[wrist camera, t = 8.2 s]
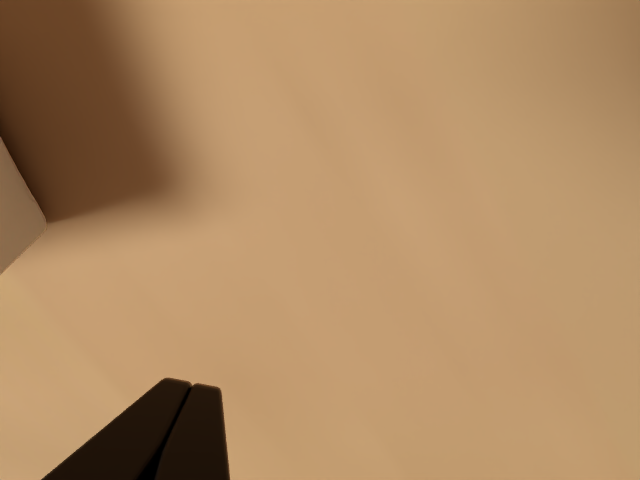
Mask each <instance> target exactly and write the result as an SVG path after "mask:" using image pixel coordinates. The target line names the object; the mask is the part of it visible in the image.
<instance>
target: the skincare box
mask: <svg viewBox="0 0 640 480" xmlns="http://www.w3.org/2000/svg"><path fill="white" fill-rule="evenodd" d="M46 229H47V223H46V219H45V216H44V215H43V213H42V211H41V209H40V207H39V205H38V204H37V202H36V200H35V199H34V197H33V196H32V194H31V192H30V190H29V188H28V187H27V185H26V183H25V181H24V180H23V178H22V176H21V174H20V172H19V171H18V169H17V167H16V165H15V163H14V161H13V160H12V158H11V156H10V154H9V152H8V150H7V148H6V146H5V144H4V143H3V141H2V139H1V136H0V275H1V274H2V273H3V272H4V271H5V270H6V269H7V268H8V267H9V266H10V265H11V264H12V263H13V262H14V261H15V260H16V259H17V258H18V257H19V256H20V255H21V254H22V253H23V252H24V251H25V250H26V249H27V248H28V247H30V246H31V245H32V244H33V243H34V242H35V241H36V240H37V239H38V238H39V237H40V236H41V235H42V234H43V233H44V232H45V231H46Z"/></svg>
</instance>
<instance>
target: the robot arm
mask: <svg viewBox="0 0 640 480" xmlns="http://www.w3.org/2000/svg"><path fill="white" fill-rule="evenodd" d="M41 480H230V473H229V463H228V453H227V443H226V433H225V423H224V413H223V403H222V393H221V390H220V388H219V387H215V386H210V385H204V384H199V383H196V384H194V385H193V386H192V384H191V383H190V382H188V381H184V380H178V379H173V378H164V379H162V380H161V381H160V382H159V383H157V384H156V385H155V386H154V387H152V388H151V389H150V390H149V391H148V392H146V393H145V394H144V395H143V396H142V397H140V398H139V399H138V400H137V401H136V402H134V403H133V404H132V405H131V406H130V407H128V408H127V409H126V410H125V411H123V412H122V413H121V414H120V415H119V416H117V417H116V418H115V419H114V420H113V421H111V422H110V423H109V424H108V425H107V426H105V427H104V428H103V429H102V430H101V431H99V432H98V433H97V434H96V435H94V436H93V437H92V438H91V439H90V440H88V441H87V442H86V443H85V444H84V445H82V446H81V447H80V448H79V449H78V450H76V451H75V452H74V453H73V454H72V455H70V456H69V457H68V458H67V459H65V460H64V461H63V462H62V463H61V464H59V465H58V466H57V467H56V468H55V469H53V470H52V471H51V472H50V473H49V474H47V475H46V476H45V477H44V478H43V479H41Z"/></svg>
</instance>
